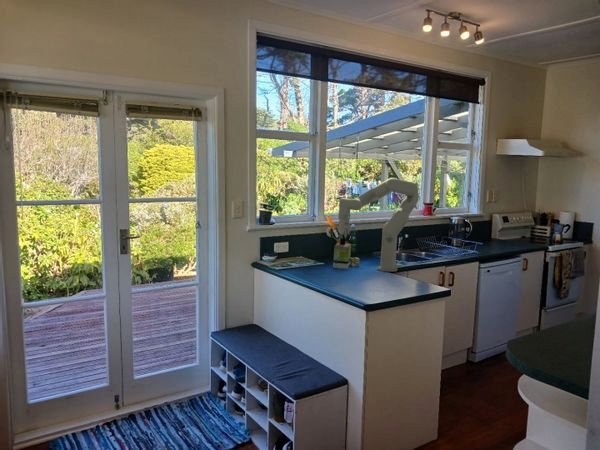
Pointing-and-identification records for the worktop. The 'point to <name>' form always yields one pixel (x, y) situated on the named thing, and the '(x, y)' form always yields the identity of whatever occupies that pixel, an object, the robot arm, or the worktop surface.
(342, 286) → the worktop surface
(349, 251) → the tea box
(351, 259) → the birch block
